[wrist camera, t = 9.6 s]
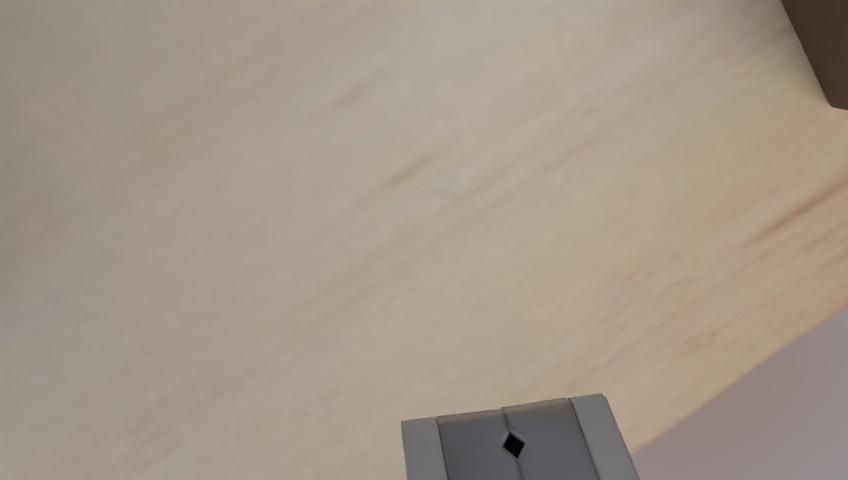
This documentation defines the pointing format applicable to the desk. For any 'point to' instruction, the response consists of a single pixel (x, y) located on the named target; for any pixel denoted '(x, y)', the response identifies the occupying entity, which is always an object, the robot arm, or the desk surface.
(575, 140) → the desk surface
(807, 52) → the stand
